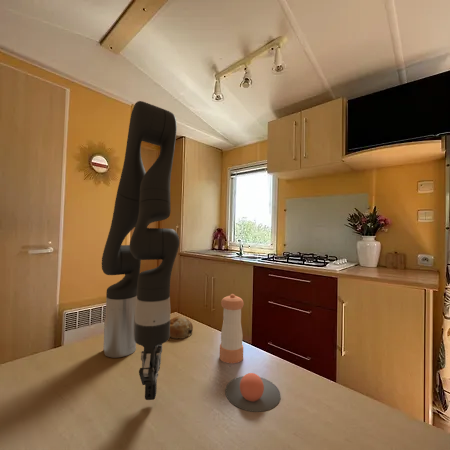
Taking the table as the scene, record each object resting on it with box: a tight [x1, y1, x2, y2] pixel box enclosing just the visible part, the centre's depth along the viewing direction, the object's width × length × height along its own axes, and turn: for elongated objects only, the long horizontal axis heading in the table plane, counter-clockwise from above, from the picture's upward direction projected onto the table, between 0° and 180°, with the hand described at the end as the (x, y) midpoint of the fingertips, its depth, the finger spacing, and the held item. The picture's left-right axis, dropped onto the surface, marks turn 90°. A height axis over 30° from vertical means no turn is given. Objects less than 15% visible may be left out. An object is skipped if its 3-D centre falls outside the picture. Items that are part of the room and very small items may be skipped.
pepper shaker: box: [219, 293, 245, 364], centre depth 77 cm, size 7×7×19 cm
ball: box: [240, 372, 264, 401], centre depth 58 cm, size 6×6×6 cm
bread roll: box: [169, 315, 194, 339], centre depth 93 cm, size 10×10×8 cm
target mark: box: [225, 375, 281, 413], centre depth 60 cm, size 13×13×1 cm
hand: (150, 397), depth 55 cm, fingers closed
